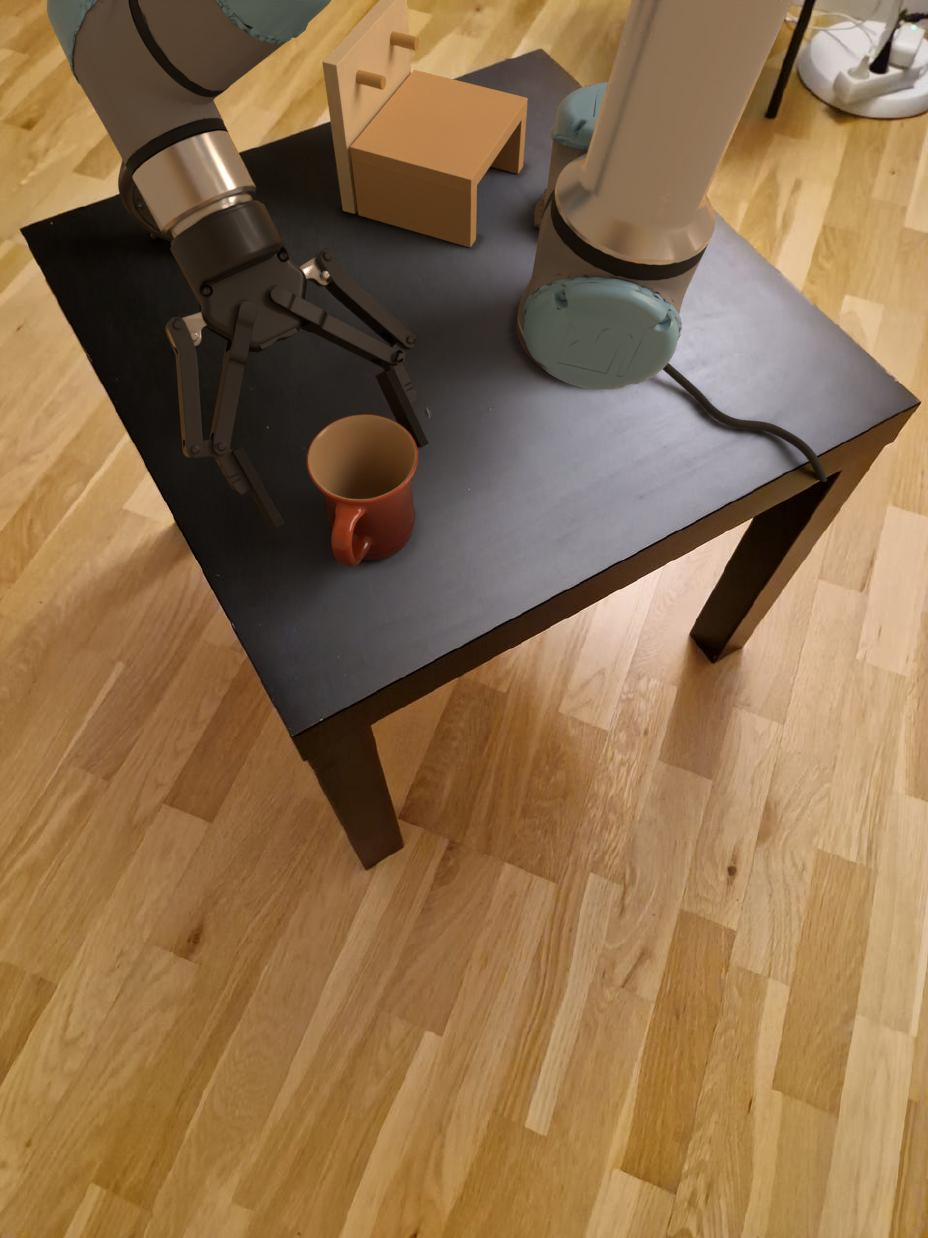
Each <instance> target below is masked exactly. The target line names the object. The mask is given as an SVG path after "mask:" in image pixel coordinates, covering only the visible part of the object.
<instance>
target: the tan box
mask: <svg viewBox="0 0 928 1238" xmlns="http://www.w3.org/2000/svg"><path fill="white" fill-rule="evenodd" d="M419 47H420V39H419V37H418V36H415V35H411V34H410V29H409V8H408V0H378V1H377V2H376V3H375V5H374V6H373V7H371V9H369V11H368V12H367V13H366V14H365V15H364V16H363V18H361V19H360V20H359V22H357V24H356V25H355V26H354V27H353V28H352V29H351V30H350V31H349V32H348V34H346V36H345V37H344V38H343V39H342V40H341V41H340V42H339V43H337V45H336V46H335V47H334V49H332V51H330V52H329V54H328V55H327V56H326V57H325V58H324V59H323V61H322V62H321V63H322V70H323V76H324V77H323V78H324V85H325V92H326V100H327V106H328V113H329V121H330V127H331V128H330V129H331V133H332V134H331V135H332V143H333V150H334V157H335V164H336V172H337V179H338V186H339V193H340V200H341V208H342V211H343V212H346V213H350V214H353V215H356V214H357V215H358V216H360V217H364V218H367V219H370V220H374V221H378V222H380V223H384V224H387V225H392V226H395V227H398V228H401V229H405V230H407V231H411V232H415V233H418V234H422V235H425V236H429V237H432V238H436V239H439V240H443V241H447V242H449V243H453V244H457V245H460V246H462V247H467V248H472V246H473V245H474V243H475V242H476V240H477V210H478V209H477V208H478V207H477V206H478V201H477V200H478V184H479V183H480V181H481V180H482V179H483V177H484V176H485V174H487V172H488V170H489V169H490V167H491V168H494V169H497V170H500V171H501V170H502V171H504V172H505V171H506V172H509V173H513V174H516V175H518V174H519V173H520V172H521V171H522V169H523V167H524V159H525V143H526V142H525V141H526V128H527V113H528V101H529V100H528V99H529V98H528V97H525V96H521V95H517V94H514V93H509V92H506V91H501V90H498V89H493V88H489V87H485V86H482V85H476V84H473V83H469V82H465V81H461V80H457V79H453V78H449V77H445V76H441V75H437V74H432V73H428V72H425V71H421V70H418V69H413V70H412V66H411V51H415V52H416V51H418V50H419Z"/></svg>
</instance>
